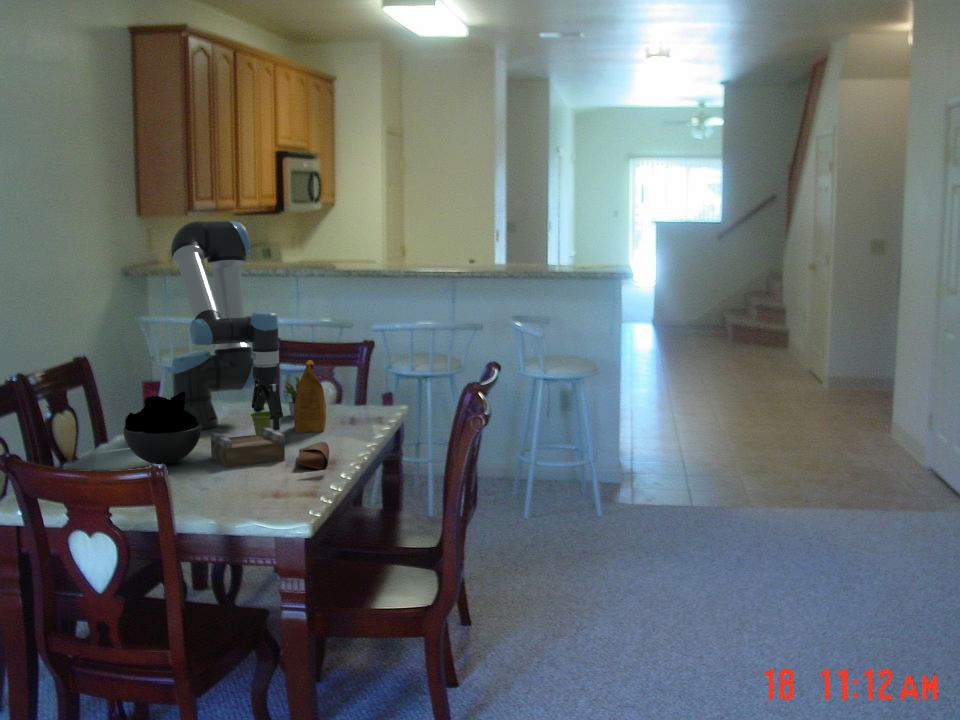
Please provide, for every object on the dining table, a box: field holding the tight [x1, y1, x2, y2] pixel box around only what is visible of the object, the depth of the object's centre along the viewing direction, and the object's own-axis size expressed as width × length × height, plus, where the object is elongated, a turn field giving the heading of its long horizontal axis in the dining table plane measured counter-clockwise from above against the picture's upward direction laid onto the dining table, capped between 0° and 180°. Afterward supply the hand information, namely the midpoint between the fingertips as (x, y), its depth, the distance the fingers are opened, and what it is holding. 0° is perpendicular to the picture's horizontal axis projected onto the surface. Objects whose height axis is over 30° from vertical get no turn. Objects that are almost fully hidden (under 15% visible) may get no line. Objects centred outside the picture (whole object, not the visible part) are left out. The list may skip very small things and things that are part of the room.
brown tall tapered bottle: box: [293, 359, 327, 434], centre depth 315 cm, size 10×12×22 cm
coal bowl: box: [122, 392, 202, 465], centre depth 270 cm, size 20×20×19 cm
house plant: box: [281, 372, 320, 418], centre depth 334 cm, size 14×14×16 cm
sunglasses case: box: [295, 441, 330, 470], centre depth 272 cm, size 18×7×7 cm
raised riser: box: [210, 427, 286, 468], centre depth 277 cm, size 14×16×7 cm
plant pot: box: [250, 410, 283, 435], centre depth 298 cm, size 9×9×9 cm
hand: (267, 437), depth 298 cm, fingers open, 13 cm apart
